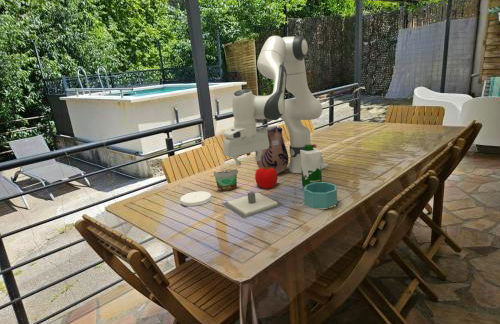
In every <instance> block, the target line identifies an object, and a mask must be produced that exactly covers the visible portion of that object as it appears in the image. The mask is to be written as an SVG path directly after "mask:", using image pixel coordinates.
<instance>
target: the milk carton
mask: <svg viewBox="0 0 500 324" xmlns="http://www.w3.org/2000/svg"><path fill="white" fill-rule="evenodd" d="M300 154H301V169H302V173H301V181H302V183H301V185H302V187H303V188H304V187H305V185H308V184H311V183H314V182H323V179H322V178H323V177H322V176H323V175H322V173H323V172H322V169H321V156H322V154H323V151H322V150H320V149H318V148H317V147H316V148H313V144H312V145H305V146H304V150H300Z"/></svg>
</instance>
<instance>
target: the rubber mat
mask: <svg viewBox="0 0 500 324" xmlns="http://www.w3.org/2000/svg"><path fill="white" fill-rule="evenodd" d="M258 193H260V194H262V195H264V196H266V197H268V198H270V199H272V200H274V201H276V202H278V205H276V206H273V207H270V208H267V209H264V210H261V211H258V212H255V213H252V214H249V215H244V214H243V213H241V212H239V211H238V210H236V209H235V208H233V207H232V206H230V205H228V204H227V202H228V201H226V202H222V203H221V205H222V206H224V207H225V208H227V209H229V210H230V211H231V212H233V213H234V214H235V215H238V216H239V217H241V218H242V219H248V218H249V217H253V216H256V215H260V214H262V213H264V212H268V211H270V210H274V209H276V208H280V207H282V206H285V204H283V203H282V202H280V201H279V200H278V201H277V200H276V199H274V198H272V197H270V196H267V195H265V194H263V193H261V192H258Z"/></svg>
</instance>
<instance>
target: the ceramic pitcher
mask: <svg viewBox="0 0 500 324" xmlns="http://www.w3.org/2000/svg"><path fill="white" fill-rule="evenodd" d="M263 127H264V128H266V129H267V133H268V135H267V136H268V140H269V148H268V149H264V150H262V154H261V156H260V161H256V160H255V162H256V164H257V165H256V166H258V169H259V168H262V167H270V168H274V169H275V170H276V172H277V175H278V174H280V173H282V172H283V171H285V170H286V168H287V167H288V166H289V165H288V164H289V154H288V153H289V152H288V151H287V150H288V149H287V147H286V144H285V141H284V138H283V128H282V127H278V125H270V126H263ZM254 153H255V157H256V156H257V154H258V152H257V151H255V152H254Z"/></svg>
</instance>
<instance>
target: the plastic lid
mask: <svg viewBox="0 0 500 324" xmlns="http://www.w3.org/2000/svg"><path fill="white" fill-rule="evenodd" d="M211 199H212V195H211V193H210V192H208V191H192V192H188V193H186V194H183V195H181V197H180V198H179V200H180V204H181V205H182V206H184V207H185V206H186V207H187V206H188V207H193V206H194V207H195V206H200V205H205V204H206V203H208V202H210V201H211Z"/></svg>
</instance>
